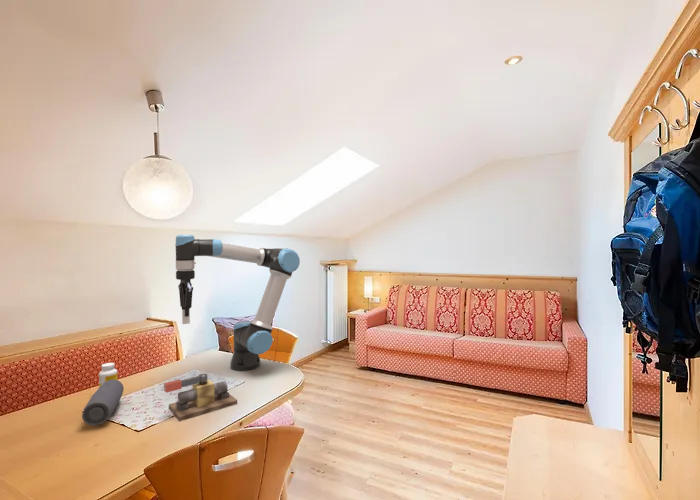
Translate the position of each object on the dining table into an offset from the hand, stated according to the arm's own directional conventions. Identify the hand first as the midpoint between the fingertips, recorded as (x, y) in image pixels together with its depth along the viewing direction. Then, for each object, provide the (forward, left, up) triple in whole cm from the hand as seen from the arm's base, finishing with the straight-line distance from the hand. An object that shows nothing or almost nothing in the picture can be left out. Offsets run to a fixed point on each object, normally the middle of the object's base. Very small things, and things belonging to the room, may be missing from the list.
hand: (186, 323), depth 162 cm
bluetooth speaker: (+31, +4, -30) cm, 43 cm away
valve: (0, +21, -29) cm, 36 cm away
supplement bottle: (+27, -17, -30) cm, 44 cm away
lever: (+6, +21, -20) cm, 30 cm away
